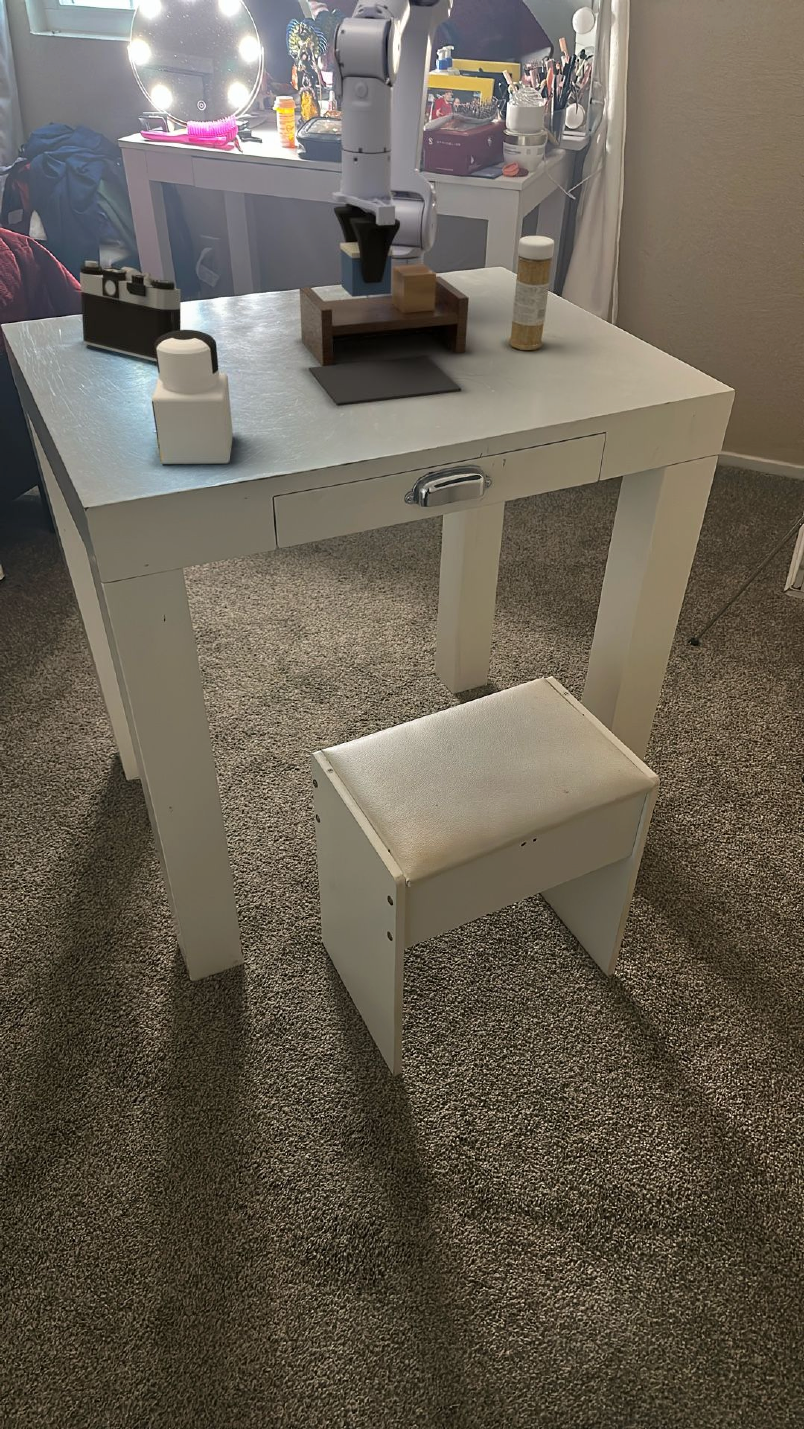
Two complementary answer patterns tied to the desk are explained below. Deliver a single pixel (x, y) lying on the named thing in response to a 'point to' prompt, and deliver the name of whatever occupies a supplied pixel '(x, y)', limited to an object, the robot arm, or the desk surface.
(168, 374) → the medicine bottle
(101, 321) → the camera
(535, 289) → the sprinkles bottle
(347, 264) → the blue box
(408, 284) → the tan box
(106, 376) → the desk surface
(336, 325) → the shelf
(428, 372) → the mat
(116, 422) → the desk surface
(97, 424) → the desk surface
